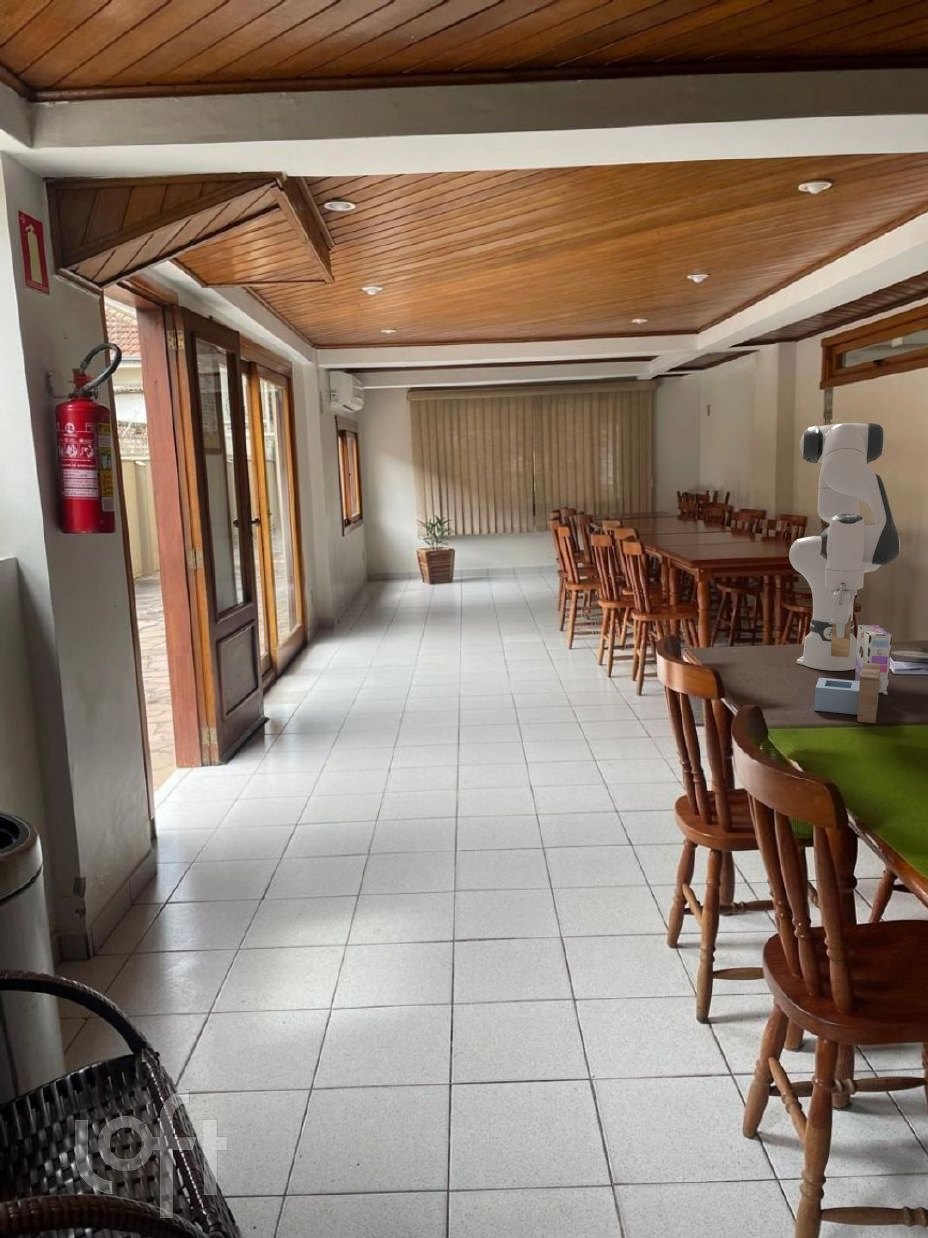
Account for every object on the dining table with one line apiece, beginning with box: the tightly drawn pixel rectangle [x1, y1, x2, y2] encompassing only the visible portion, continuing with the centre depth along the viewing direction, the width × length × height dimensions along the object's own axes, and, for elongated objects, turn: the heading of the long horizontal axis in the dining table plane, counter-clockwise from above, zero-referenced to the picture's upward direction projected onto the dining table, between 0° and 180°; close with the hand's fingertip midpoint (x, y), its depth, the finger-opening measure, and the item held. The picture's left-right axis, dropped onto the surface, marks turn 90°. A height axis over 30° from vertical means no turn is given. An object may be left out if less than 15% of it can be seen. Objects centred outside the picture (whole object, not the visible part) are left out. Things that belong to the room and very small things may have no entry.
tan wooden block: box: [831, 615, 851, 658], centre depth 224 cm, size 4×4×10 cm
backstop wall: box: [856, 662, 880, 724], centre depth 223 cm, size 20×4×10 cm, turn 154°
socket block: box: [814, 677, 860, 716], centre depth 227 cm, size 10×10×6 cm
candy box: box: [854, 624, 893, 696], centre depth 243 cm, size 14×6×16 cm, turn 168°
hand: (841, 635), depth 224 cm, fingers closed on tan wooden block, 4 cm apart
